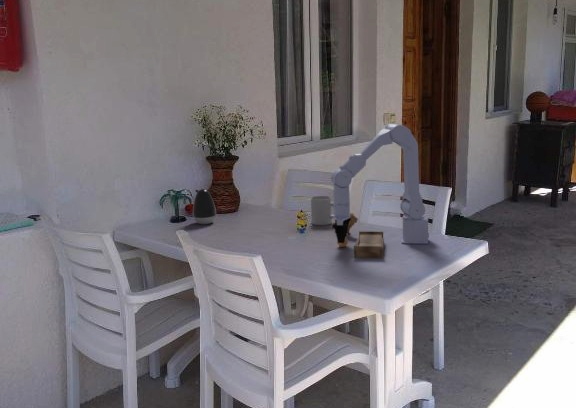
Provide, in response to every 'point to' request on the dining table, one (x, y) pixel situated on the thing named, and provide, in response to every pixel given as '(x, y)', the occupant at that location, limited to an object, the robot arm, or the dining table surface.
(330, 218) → the mug
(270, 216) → the dining table surface
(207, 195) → the dark egg-shaped device
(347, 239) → the ball
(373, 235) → the wooden shadow box
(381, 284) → the dining table surface
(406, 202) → the robot arm
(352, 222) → the lion figurine
